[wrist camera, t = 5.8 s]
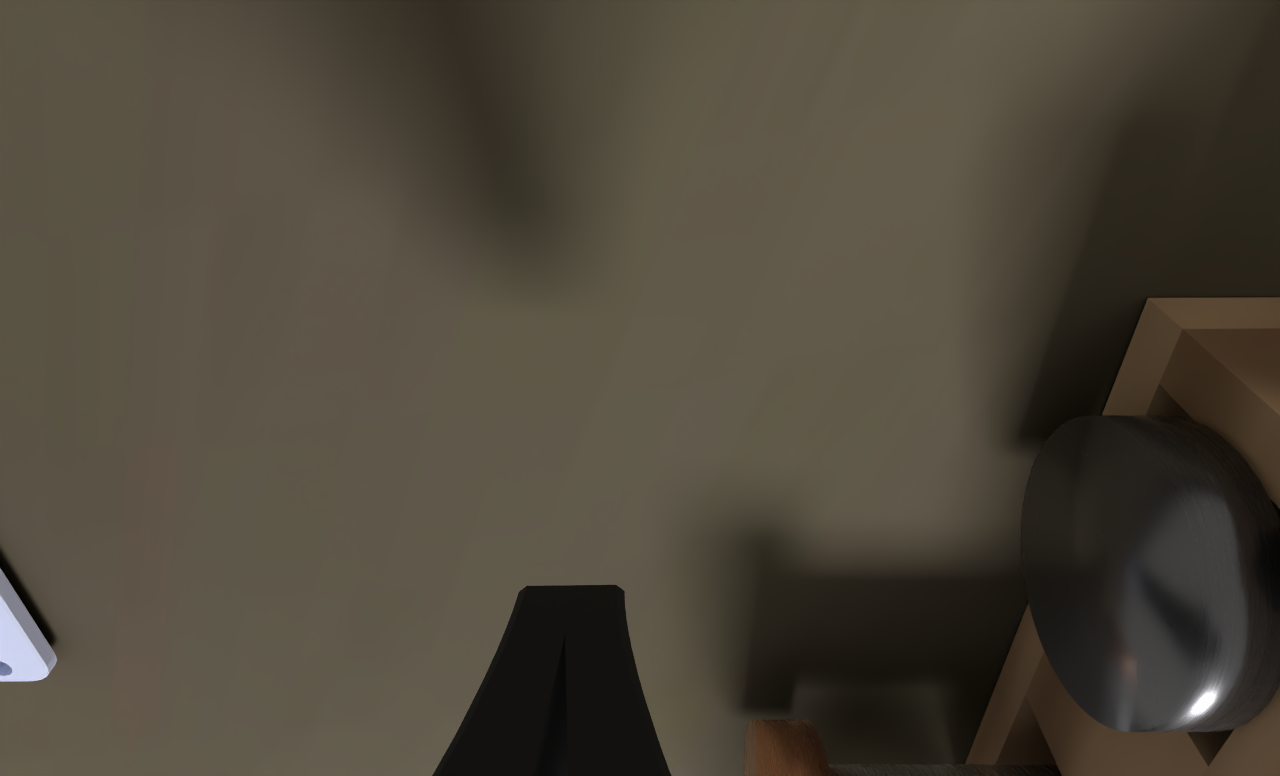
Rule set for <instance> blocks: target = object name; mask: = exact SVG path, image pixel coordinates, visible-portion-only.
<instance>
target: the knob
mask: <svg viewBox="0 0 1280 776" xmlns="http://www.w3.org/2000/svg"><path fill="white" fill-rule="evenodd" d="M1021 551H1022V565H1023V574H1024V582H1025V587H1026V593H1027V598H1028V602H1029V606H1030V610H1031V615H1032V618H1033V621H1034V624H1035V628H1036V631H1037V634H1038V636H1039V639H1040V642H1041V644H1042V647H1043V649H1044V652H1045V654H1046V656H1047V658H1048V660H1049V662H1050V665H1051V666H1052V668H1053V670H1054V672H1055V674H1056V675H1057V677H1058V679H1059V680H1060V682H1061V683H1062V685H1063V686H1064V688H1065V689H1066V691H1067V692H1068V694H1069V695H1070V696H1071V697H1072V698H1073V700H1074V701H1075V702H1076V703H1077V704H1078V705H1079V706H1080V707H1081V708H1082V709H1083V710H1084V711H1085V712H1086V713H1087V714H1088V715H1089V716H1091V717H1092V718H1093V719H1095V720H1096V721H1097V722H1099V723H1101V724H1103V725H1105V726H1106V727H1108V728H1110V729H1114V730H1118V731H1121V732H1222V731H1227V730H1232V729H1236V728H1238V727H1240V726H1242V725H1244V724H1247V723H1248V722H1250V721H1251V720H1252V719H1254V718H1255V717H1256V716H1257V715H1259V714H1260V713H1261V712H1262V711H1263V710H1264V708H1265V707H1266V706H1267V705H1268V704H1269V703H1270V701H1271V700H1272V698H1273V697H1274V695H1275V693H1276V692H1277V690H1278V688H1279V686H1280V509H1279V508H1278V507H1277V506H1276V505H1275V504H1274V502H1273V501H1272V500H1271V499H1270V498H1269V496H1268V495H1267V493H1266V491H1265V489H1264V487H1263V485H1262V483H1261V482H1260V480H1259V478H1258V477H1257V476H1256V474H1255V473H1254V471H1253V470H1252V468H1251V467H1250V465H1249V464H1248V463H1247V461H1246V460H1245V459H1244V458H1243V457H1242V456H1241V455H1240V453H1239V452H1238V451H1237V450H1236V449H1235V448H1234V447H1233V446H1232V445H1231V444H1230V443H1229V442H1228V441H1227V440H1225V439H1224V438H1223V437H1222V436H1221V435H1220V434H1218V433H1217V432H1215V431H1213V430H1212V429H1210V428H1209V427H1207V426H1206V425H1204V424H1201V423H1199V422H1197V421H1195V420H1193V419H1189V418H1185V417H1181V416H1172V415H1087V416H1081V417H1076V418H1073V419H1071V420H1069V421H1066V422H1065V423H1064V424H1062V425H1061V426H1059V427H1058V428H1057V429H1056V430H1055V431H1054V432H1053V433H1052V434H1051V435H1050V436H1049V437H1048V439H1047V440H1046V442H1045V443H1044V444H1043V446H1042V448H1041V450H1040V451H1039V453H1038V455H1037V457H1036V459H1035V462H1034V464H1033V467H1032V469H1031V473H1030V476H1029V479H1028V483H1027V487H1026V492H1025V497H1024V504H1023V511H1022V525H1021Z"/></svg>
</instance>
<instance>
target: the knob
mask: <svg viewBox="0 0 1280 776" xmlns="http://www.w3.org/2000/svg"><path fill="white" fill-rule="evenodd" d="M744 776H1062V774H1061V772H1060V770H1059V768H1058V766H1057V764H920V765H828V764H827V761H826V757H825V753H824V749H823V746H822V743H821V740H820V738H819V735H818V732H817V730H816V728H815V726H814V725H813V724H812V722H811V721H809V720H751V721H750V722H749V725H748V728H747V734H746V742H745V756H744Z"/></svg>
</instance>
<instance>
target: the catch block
mask: <svg viewBox="0 0 1280 776" xmlns="http://www.w3.org/2000/svg"><path fill="white" fill-rule="evenodd" d="M1102 415H1172V416H1181V417H1185V418H1189V419H1193V420H1195V421H1197V422H1199V423H1201V424H1204V425H1206V426H1207V427H1209V428H1210V429H1212V430H1213V431H1215V432H1217V433H1218V434H1220V435H1221V436H1222V437H1223V438H1224V439H1225V440H1227V441H1228V442H1229V443H1230V444H1231V445H1232V446H1233V447H1234V448H1235V449H1236V450H1237V451H1238V452H1239V453H1240V455H1241V456H1242V457H1243V458H1244V459H1245V460H1246V461H1247V463H1248V464H1249V465H1250V467H1251V468H1252V470H1253V471H1254V473H1255V474H1256V476H1257V477H1258V478H1259V480H1260V482H1261V483H1262V485H1263V487H1264V489H1265V491H1266V493H1267V495H1268V496H1269V498H1270V499H1271V500H1272V501H1273V502H1274V504H1275V505H1276V506H1277V507H1278V508H1279V509H1280V297H1249V298H1148V299H1147V301H1146V304H1145V306H1144V309H1143V312H1142V314H1141V317H1140V319H1139V322H1138V324H1137V327H1136V329H1135V332H1134V335H1133V337H1132V340H1131V342H1130V345H1129V347H1128V350H1127V352H1126V355H1125V357H1124V360H1123V363H1122V365H1121V368H1120V370H1119V373H1118V375H1117V378H1116V380H1115V383H1114V385H1113V388H1112V391H1111V393H1110V396H1109V398H1108V401H1107V403H1106V406H1105V408H1104V411H1103V413H1102ZM965 764H1057V766H1058V768H1059V770H1060V772H1061V774H1062V776H1280V686H1279V688H1278V690H1277V692H1276V693H1275V695H1274V697H1273V698H1272V700H1271V701H1270V703H1269V704H1268V705H1267V706H1266V707H1265V708H1264V710H1263V711H1262V712H1261V713H1260V714H1259V715H1257V716H1256V717H1255V718H1254V719H1252V720H1251V721H1250V722H1248V723H1247V724H1244V725H1242V726H1240V727H1238V728H1236V729H1232V730H1227V731H1222V732H1121V731H1118V730H1114V729H1110V728H1108V727H1106V726H1105V725H1103V724H1101V723H1099V722H1097V721H1096V720H1095V719H1093V718H1092V717H1091V716H1089V715H1088V714H1087V713H1086V712H1085V711H1084V710H1083V709H1082V708H1081V707H1080V706H1079V705H1078V704H1077V703H1076V702H1075V701H1074V700H1073V698H1072V697H1071V696H1070V695H1069V694H1068V692H1067V691H1066V689H1065V688H1064V686H1063V685H1062V683H1061V682H1060V680H1059V679H1058V677H1057V675H1056V674H1055V672H1054V670H1053V668H1052V666H1051V665H1050V662H1049V660H1048V658H1047V656H1046V654H1045V652H1044V649H1043V647H1042V644H1041V642H1040V639H1039V636H1038V634H1037V631H1036V628H1035V624H1034V621H1033V618H1032V615H1031V610H1030V606H1029V602H1028V605H1027V607H1026V610H1025V612H1024V615H1023V617H1022V620H1021V622H1020V625H1019V628H1018V630H1017V633H1016V635H1015V638H1014V640H1013V643H1012V645H1011V648H1010V650H1009V653H1008V656H1007V658H1006V661H1005V663H1004V666H1003V668H1002V671H1001V673H1000V676H999V678H998V681H997V684H996V686H995V689H994V691H993V694H992V696H991V699H990V701H989V704H988V707H987V709H986V712H985V714H984V717H983V719H982V722H981V724H980V727H979V729H978V732H977V735H976V737H975V740H974V742H973V745H972V747H971V750H970V752H969V755H968V757H967V760H966V763H965Z"/></svg>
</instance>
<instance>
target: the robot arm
mask: <svg viewBox="0 0 1280 776" xmlns="http://www.w3.org/2000/svg"><path fill="white" fill-rule="evenodd" d="M56 661H57V658H56V655H55V653H54V651H53V650H52V648H51V646H50V645H49V643H48V642H47V640H46V639H45V637H44V635H43V634H42V632H41V631H40V629H39V628H38V626H37V625H36V623H35V621H34V620H33V618H32V617H31V615H30V614H29V612H28V610H27V609H26V607H25V606H24V604H23V603H22V601H21V599H20V598H19V596H18V595H17V593H16V592H15V590H14V589H13V587H12V585H11V584H10V582H9V581H8V579H7V578H6V576H5V574H4V573H3V571H2V570H1V568H0V681H36V680H42V679H43V678H45V677H47V676H48V674H49V673H50V671H51V670H52V669H53V667H54V666H55V664H56ZM432 776H671V774H670V771H669V769H668V766H667V763H666V760H665V758H664V755H663V752H662V749H661V746H660V744H659V741H658V738H657V735H656V732H655V728H654V725H653V722H652V719H651V716H650V713H649V710H648V707H647V704H646V701H645V697H644V694H643V691H642V687H641V683H640V680H639V676H638V672H637V668H636V664H635V660H634V656H633V652H632V647H631V642H630V637H629V632H628V626H627V620H626V611H625V596H624V590H622V589H621V588H620V587H618V586H617V585H572V586H526V587H525V588H524V589H522V590H521V591H520V592H519V594H518V597H517V600H516V603H515V606H514V609H513V612H512V614H511V617H510V620H509V622H508V625H507V628H506V630H505V633H504V635H503V637H502V640H501V642H500V645H499V647H498V649H497V651H496V654H495V656H494V658H493V660H492V662H491V665H490V667H489V669H488V671H487V673H486V676H485V678H484V680H483V682H482V684H481V686H480V688H479V690H478V692H477V694H476V696H475V698H474V700H473V702H472V704H471V706H470V708H469V710H468V712H467V714H466V716H465V718H464V720H463V721H462V723H461V725H460V727H459V729H458V731H457V733H456V735H455V737H454V739H453V740H452V742H451V744H450V746H449V748H448V749H447V751H446V753H445V755H444V756H443V758H442V760H441V762H440V763H439V765H438V767H437V768H436V770H435V772H434V774H433V775H432Z"/></svg>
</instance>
